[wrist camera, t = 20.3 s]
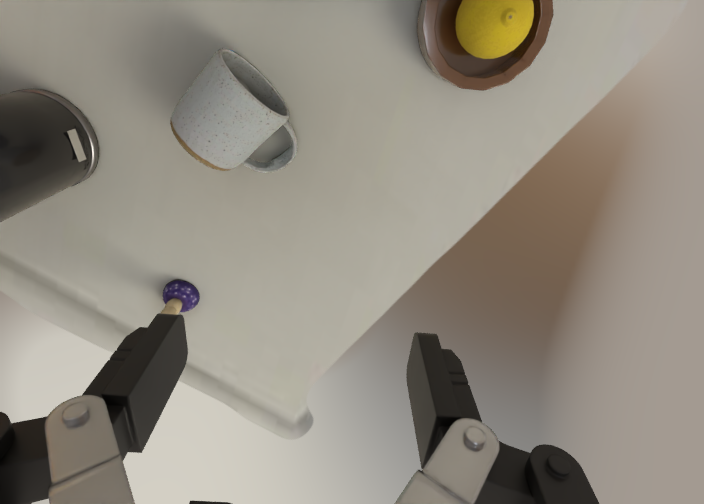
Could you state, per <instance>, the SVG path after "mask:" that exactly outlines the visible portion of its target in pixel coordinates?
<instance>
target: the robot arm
mask: <svg viewBox="0 0 704 504" xmlns="http://www.w3.org/2000/svg"><path fill="white" fill-rule="evenodd" d="M98 158H99V147H98V142H97V138H96V135H95V133H94V131H93V129H92V127H91V125H90V123H89V122H88V120H87V119H86V118H85V116H84V115H83V114H82V113H81V112H80V111H79V110H78V109H77V108H76V107H75V106H74V105H72V104H71V103H70V102H68V101H67V100H65V99H64V98H62V97H60V96H58V95H56V94H54V93H51V92H48V91H44V90H39V89H25V90H19V91H14V92H11V93H8V94H1V95H0V222H2V221H4V220H6V219H8V218H10V217H12V216H14V215H16V214H17V213H19V212H21V211H23V210H25V209H27V208H29V207H31V206H33V205H35V204H37V203H39V202H41V201H43V200H45V199H47V198H48V197H50V196H52V195H54V194H56V193H58V192H60V191H62V190H64V189H66V188H68V187H70V186H74V185H76V184H78V183H80V182H82V181H84V180H85V179H87V178H88V177H89V176H90V175H91V174H92V173H93V172H94V170H95V168H96V166H97V163H98ZM187 355H188V348H187V340H186V332H185V324H184V318H183V316H182V315H175V314H161V313H159V314H157V315H156V316H155V318H154V319H153V321H152V322H151V324H150V325H149V326H148V328H144V327H140V328H138V329H137V330H135V331H134V332H132V333H131V334H129V335H128V336H127V337H126V338H125V339H124V340H123V342H122V343H121V344H120V345H119V347H118V348H117V351H115V352H114V353H113V355H112V356H111V358H110V360H108V361H107V363H106V364H105V365H104V367H103V368H102V369H101V371H100V372H99V373H98V375H97V376H96V377H95V379H94V380H93V381H92V383H91V384H90V385H89V387H88V388H87V389H86V391H85V392H84V393H83V395H82V396H78V397H74V398H72V399H69V400H67V401H65V402H63V403H61V404H60V405H58V406H57V407H56V408H55V409H54V410H53V411H52V412H51V413H50V414H49V415H48V416H47V417H43V418H38V419H32V420H27V421H22V422H17V423H11V422H10V420H9V418H8V416H7V415H6V414H5V413H2V412H0V504H31V503H32V502H36V501H40V500H44V499H48V498H49V502H50V504H135V503H134V499H133V496H132V492H131V489H130V485H129V482H128V478H127V475H126V471H125V468H124V464H123V460H124V458H125V456H126V454H127V452H140V453H142V451H143V449H144V447H145V445H146V443H147V441H148V439H149V437H150V435H151V433H152V431H153V429H154V427H155V425H156V423H157V421H158V419H159V417H160V415H161V413H162V411H163V409H164V407H165V405H166V403H167V401H168V399H169V397H170V395H171V393H172V391H173V389H174V387H175V385H176V383H177V381H178V379H179V377H180V375H181V373H182V371H183V369H184V367H185V365H186V361H187ZM407 386H408V392H409V398H410V403H411V409H412V415H413V421H414V426H415V433H416V439H417V444H418V450H419V456H420V462H421V468H422V469H423V470H422V471H420V470H418V471H417V472H416V473H415V474H414V475H413V477H412V478H411V480H410V481H409V483H408V484H407V486H406V487H405V489H404V490H403V492H402V493H401V495H400V496H399V498H398V499H397V501H396V502H395V504H599V502H598V500H597V498H596V496H595V494H594V492H593V490H592V488H591V486H590V484H589V482H588V479H587V477H586V476H585V473H584V471H583V469H582V468H581V466H580V465H579V463H578V462H577V461H576V460H575V459H574V458H573V457H572V456H571V455H570V454H568V453H567V452H565V451H564V450H562V449H560V448H558V447H555V446H552V445H539V446H536V447H535V448H534V449H533V450H532V452H531V453H528V452H525V451H522V450H519V449H517V448H514V447H511V446H508V445H506V444H503V443H502V442H500V441H499V440H498V438H497V436H496V435H495V433H494V432H493V431H492V430H491V429H490V428H489V427H488V426H487V425H485V424H484V423H482V420H481V418H480V415H479V412H478V409H477V406H476V403H475V401H474V398H473V395H472V392H471V389H470V386H469V385H468V381H467V378H466V375H465V372H464V369H463V366H462V363H461V361H460V359H459V358H458V357H457V356H456V355H455V354H454V353H453V351H452V350H448V349H441V346H440V343H439V339H438V336H437V334H430V333H429V334H428V333H415V334H414V337H413V341H412V346H411V351H410V355H409V360H408V365H407ZM189 504H231V503H227V502H206V501H190V503H189Z"/></svg>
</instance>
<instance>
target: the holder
mask: <svg viewBox="0 0 704 504" xmlns="http://www.w3.org/2000/svg"><path fill="white" fill-rule="evenodd" d="M532 1H533V5H534V17H533V22H532V26H531V28H530V30H529V32H528V34H527V36H526V37H525V39H524V40H523V41H522V43H521V44H520V45H518V46H517V47H516V48H515V49H514V50H513V51H511V52H509V53H508V54H506V55H504V56H501V57H498V58H494V59H482V58H478V57H475V56H473V55H471V54H470V53H468V52H467V51H466V50H465V49H464V48H463V47H462V46H461V44H460V42H459V40H458V38H457V33H456V16H457V12H458V9H459V7H460V5H461V2H462V0H422V3H421V6H420V10H419V15H418V23H417V34H418V41H419V45H420V49H421V52H422V54H423V57H424V59H425V60H426V62H427V64H428V65H429V67H430V68H431V69H432V70H433V71H434V73H435V74H436V75H438V76H439V77H441V78H442V79H444V80H446V81H448V82H449V83H451V84H453V85H455V86H457V87H459V88H463V89H473V90H482V91H484V90H487V89H491V88H494V87H497V86H500V85H503V84H507V83H509V82H510V81H511V80H512V79H514V78H515V77H516V76H518V75H519V74H520V73H521V72H523V71H524V70H525V69H527V68H528V67H529V66H530V65H531V63H532V62H533V60H534V59H535V57H536V56H537V54H538V53H539V51H540V50H541V48H542V47H543V45H544V44H545V42H546V38H547V35H548V31H549V28H550V24H551V21H552V17H553V2H552V0H532Z"/></svg>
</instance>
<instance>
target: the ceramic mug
mask: <svg viewBox="0 0 704 504" xmlns="http://www.w3.org/2000/svg"><path fill="white" fill-rule="evenodd" d="M288 119H289V110H288V108H287V106H286V104H285V102H284V101H283V99H282V98H281V96H280V95H279V93H278V92H277V91H276V90H275V89H274V87H273V86H272V85H271V84H270V82H269V81H268V80H267V79H266V78H265V77H264V76H263V75H262V74H261V73H260V72H259V71H258V70H257V69H255V67H254V66H252V65H251V64H250V63H248V62H247V61H246V60H245V59H244V58H242V57H241V56H239V55H238V54H237V53H234V52H232V51H230V50H227V49H223V48H222V49H219V50H218V51H217V52H216V53H215V54H214V55H213V57H212V58H211V60H210V61H209V63H208V64H207V65H206V66H205V68H204V69H203V70H202V72H201V73H200V74H199V75H198V77H197V78H196V79H195V81H194V82H193V84H192V85H191V87H190V88H189V89H188V91H187V92H186V93H185V94H184V96H183V97H182V98H181V99H180V101H179V102H178V104H177V105H176V107H175V109H174V111H173V113H172V116H171V123H170V124H171V128H172V131H173V133H174V135H175V137H176V139H177V140H178V142H179V143H180V144H181V146H182V147H183V148H184V149H185V150H186V151H187V152H188V153H189V154H190V155H192V156H193V157H194V158H195V159H197V160H198V161H200V162H201V163H203V164H205V165H206V166H208V167H210V168H213V169H217V170H222V171H226V170H231V169H233V168H235V167H237V166H238V165H240V164H241V163H243V165H245V166H246V167H248V168H250V169H252V170H254V171H257V172H261V173H271V172H276V171H278V170H281V169H282V168H284V167H286V166H287V165H288V164H289V163H290V162H291V161H292V160H293V159H294V158H295V156H296V153H297V139H296V136H295V133H294V130H293V128H292V126H291V125H290V123H289V122H288ZM281 126H284V127H285V128H286V129H287V131H288V133H289V134H290V136H291V138H292V144H291V145H290V148H289V149H288V150H287V151H285V152H284V153H283V154H282V155H280V156H279V157H277V158H275V159H273V160H272V162H268V163H263V162H258V161H256V160H252V159H251V158H249V156H250V155H251V154H252V153H253V152H254V151H255V150H256V149H257V148H258V147H259V146H260V145H261V144H262V143H264V142H265V141H266V140H267V139H268V138H269V137H270V136H271V135H272V134H273V133H274V132H276V131H277V130H278V129H279V128H280V127H281Z"/></svg>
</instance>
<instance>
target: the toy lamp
mask: <svg viewBox="0 0 704 504" xmlns="http://www.w3.org/2000/svg"><path fill="white" fill-rule="evenodd" d="M163 300H164V302H165V304H166V305H165V309H163V310H162V311H161V314H175V315H177V314H178V313H179V312H186V311H189V310H191V309H193V308H194V307H195V306H196V305H197V304H198V302H199V292H198V290H197V289H196V288H195V287H194V286H193V285H191V284H190V283H188V282H185V281H181V280H176V281H172V282H170V283H168V284H167V285H166V286H165V288H164V290H163Z"/></svg>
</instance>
